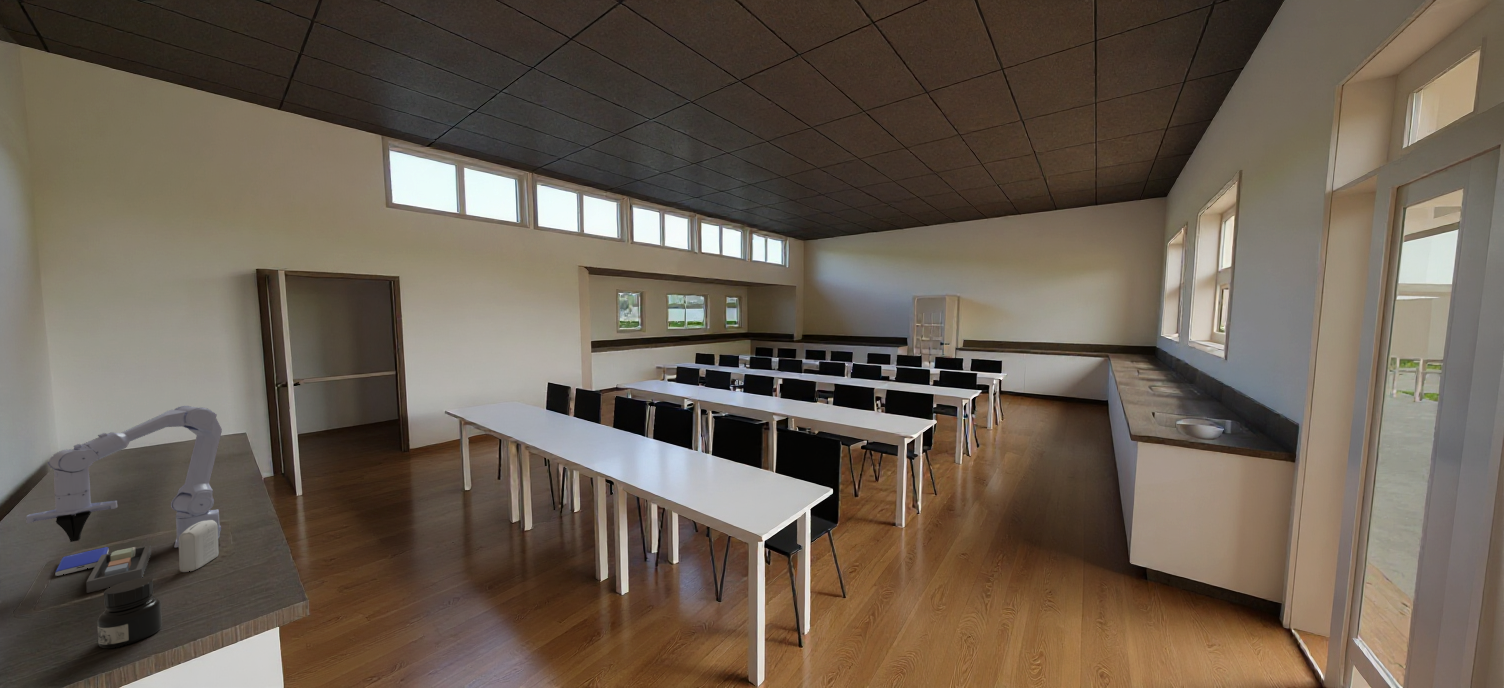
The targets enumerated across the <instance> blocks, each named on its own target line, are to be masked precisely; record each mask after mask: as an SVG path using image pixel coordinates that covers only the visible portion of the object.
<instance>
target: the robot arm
mask: <svg viewBox="0 0 1504 688" xmlns="http://www.w3.org/2000/svg"><path fill="white" fill-rule="evenodd" d="M217 415H218V414H217V413H216V412H214V411H212V410H211V409H209V408H207V407H201V406H200V407H198V406H190V405H181V406H178V407H176V408H174V409H170V410H166V411H165V412H163V413H161V414H158V415H157V416H155V417H154V416H153V417H152V418H151V419H150V418H149V419H148V420H146V421H144V422H142V423H138V424H137V425H135V426H132V427H131V428H128V429H126V430H124V431H122V432H117V431H116V432H114V431H111V432H108V433H106V432H102V433H100V434H98V435H97V436H98V437H95V438H94V439H91V440H88V441H85V442H83V443H77V444H75V445H73V449H72V448H70V449H67V448H66V449H62V450H59V451H57V452H55V453H54V454H53V455H52V456H51V457H50V458H49V461H47V462H46V464H47V466H48V467H49V468H51V470H53V487H54V488H53V489H54V505H55V508H54V509H50V510H47V511H40V512H35V513H30V514H27V515H26V516H25V522H26V524H32V523H36V522H39V521H44V520H45V521H46V520H53V519H56V521H55V522H56V524H57V525H58V526H59V527H60V528H61V529H62V530H63V531H64V532H65V533H66V535H67V537H68V538H69V543H75V542H77V541H78V542H79V541H80V540H81V536H82V532H83V528H84V527H85V524H86V522H87V520H88V519H89V517H90V515H91V514H92V513H93V512H100V511H105V510H115V509H117V508H118V506H119V505H118V500H109V501H101V502H92V497H91V496H92V495H91V479H90V467H91V466H93V464H94V462H97V461H100V460H102V459H104V458H107V457H109V456H111V455H113V454H116V453H118V452H120V451H122V450H125V449H126V448H128V445H129V444H130V443H131V442H132V441H135V440H137V439H138V440H139V438H143V437H145V436H148V435H150V434H153V433H155V432H157V431H160V430H163V429H165V428H174V427H176V428H179V427H182V428H185V429H187V430H189V431H191V432H192V433H193V434H195V436H196V437H195V442H194V445H193V450H192V453H191V457H190V462H189V465H188V468H187V473H186V477H185V481H184V484H182V486H180V487H179V489H178V490H177V494H176V495H175V496H174V497H173V498H172V500H171V502H170V507H171V509H172V510H173V511H175V512H176V514H175V523H176V539H175V543H174V546H173V547H174V548H175V549H176V548H179V537H180V535H181V534H182V533H183V532H184V531H185V530H186V529H188V528H189V527H190V526H192V525H194V524H196V523H198V522H201V521H207V520H213V521H215V522H216V523H217V525H218V539H220V535H221V534H220V533H221V531H222V525H220V511H219V510H220V509H212V508H213V507H214V505H215V500H214V497H213V493H214V490H213V488H212V486H211V484H210V481H211V477H212V474H213V473H212V472H213V469H214V466H215V461H216V457H217V452H218V447H219V445H220V441H221V436H222V431H223V430H222V426H221V424H220V423H219V421H218V418H217Z"/></svg>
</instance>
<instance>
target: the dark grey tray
mask: <svg viewBox="0 0 1504 688" xmlns="http://www.w3.org/2000/svg"><path fill="white" fill-rule="evenodd" d="M151 545H152V544H148V545H142V546H138V547H135V549H136V554H135V556H134V557H133V558H131V566H130V568H129V570H128V571H126V572H122V573H117V574H113V575H109V576H105V570H106V568H107V567H108V565H109V563H110V562H111V558H110V556H111V554H112V552H110V553H109V552H108V554H104V555H101V557H100V559H99V560H98V562H97V564H96V566H95V567H93V569H92V571H91V573H90V575H89V576H88V578H87V580H86V582H85V583H86V594H87V593H92V592H97V591H100V590H104V589H105V590H106V589H108V588H109V587H112V586H114V585H117V584H120V583H123V582H126V581H130V580H134V579H140V578H142V577H143V578H144V576H143V574H144V575H145V573H144V571H145V572H146V570H147V567H148V564H149V562H150V561H149V560H150V559H151V556H152V547H151ZM150 555H151V556H150ZM149 558H150V559H149ZM148 561H149V562H148ZM147 563H148V564H147ZM146 566H147V567H146ZM145 569H146V570H145Z"/></svg>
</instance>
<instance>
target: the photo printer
mask: <svg viewBox="0 0 1504 688" xmlns="http://www.w3.org/2000/svg"><path fill="white" fill-rule="evenodd" d="M219 554H220V553H219V538H218V525H217V523H216V522H215V521H213V520H207V521H201V522H198V523H196V524H194V525H192V526H190V527H189V528H188V529H186V530H185V531H184V532H183V533H182V534H181V535H180V537H179V547H178V558H179V559H178V560H179V571H180V572H182V573H189V571H190V572H194V571H195V570H198V569H200V568H202V567H204V566H205V565H206V564H208V563H210V562H211V561H212V560H214V559H216V558H217V557H219Z"/></svg>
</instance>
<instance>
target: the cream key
mask: <svg viewBox="0 0 1504 688" xmlns="http://www.w3.org/2000/svg"><path fill="white" fill-rule="evenodd" d="M128 548H129V547H128ZM128 548H127V547H126V549H128ZM131 548H133V556H132V558H133V557H134V556H135V554H136V549H135V548H136V546H133V547H131ZM124 549H125V548H124ZM124 549H121V550H124ZM119 550H120V549H118V550H117V551H119Z"/></svg>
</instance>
